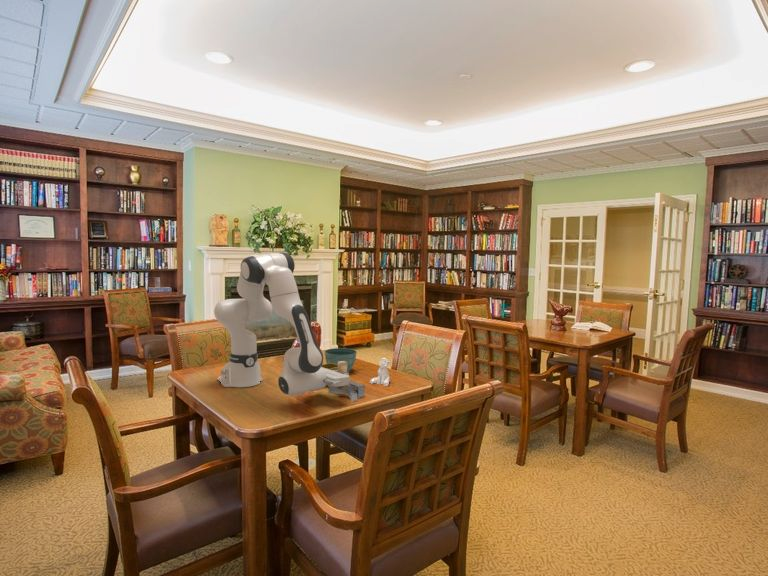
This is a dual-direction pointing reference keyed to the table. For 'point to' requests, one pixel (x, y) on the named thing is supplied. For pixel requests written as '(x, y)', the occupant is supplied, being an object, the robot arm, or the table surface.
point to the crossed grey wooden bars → (350, 390)
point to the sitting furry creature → (382, 373)
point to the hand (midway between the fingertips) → (344, 373)
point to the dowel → (342, 371)
